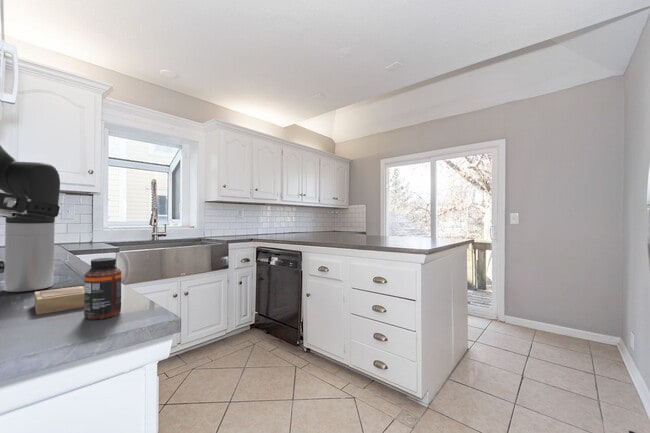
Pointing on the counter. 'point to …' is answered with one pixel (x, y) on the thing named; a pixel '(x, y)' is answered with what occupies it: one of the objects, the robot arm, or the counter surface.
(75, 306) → the oak base
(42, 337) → the counter surface
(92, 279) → the supplement bottle
